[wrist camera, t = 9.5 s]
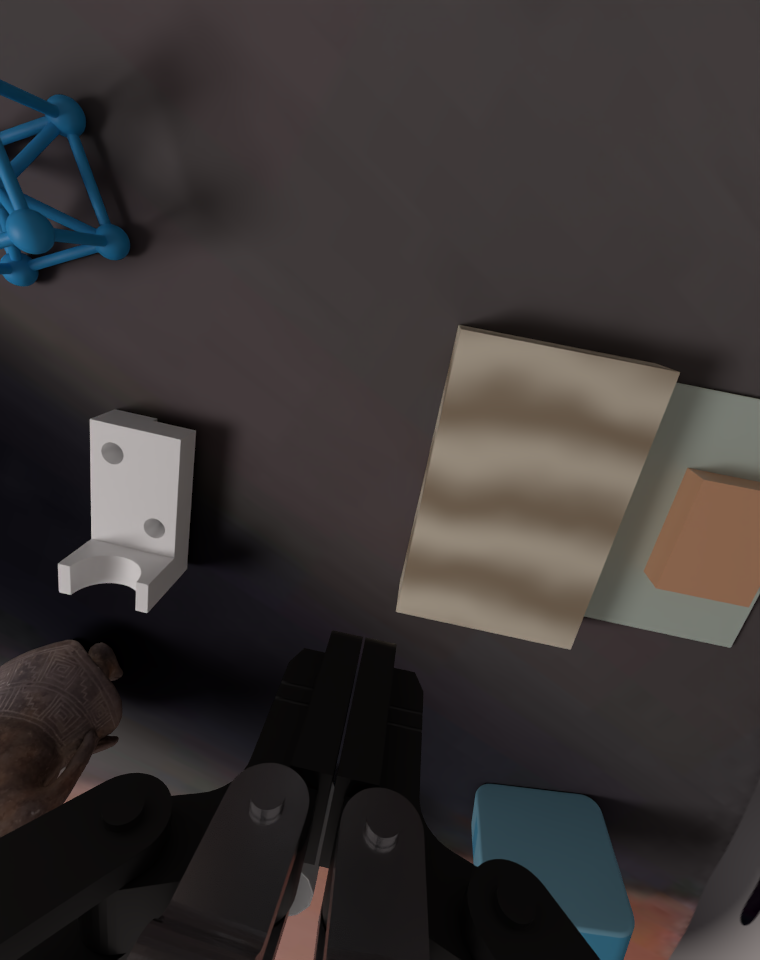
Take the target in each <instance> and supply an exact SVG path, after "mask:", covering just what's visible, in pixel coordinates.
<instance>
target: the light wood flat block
mask: <svg viewBox="0 0 760 960" xmlns="http://www.w3.org/2000/svg"><path fill="white" fill-rule="evenodd" d="M679 375H680V372H678V371H675V370H673V369H670V368H667V367H664V366H662V365H659V364H656V363H652V362H646V361H641V360H636V359H631V358H626V357H621V356H616V355H611V354H606V353H601V352H596V351H590V350H585V349H580V348H575V347H570V346H565V345H560V344H555V343H550V342H545V341H540V340H534V339H529V338H524V337H519V336H514V335H509V334H504V333H499V332H494V331H489V330H484V329H478V328H473V327H468V326H463V325H459V326H458V330H457V335H456V339H455V343H454V348H453V352H452V357H451V361H450V365H449V370H448V374H447V379H446V383H445V387H444V392H443V396H442V400H441V405H440V409H439V414H438V418H437V422H436V427H435V431H434V436H433V440H432V444H431V449H430V453H429V458H428V462H427V466H426V471H425V475H424V479H423V484H422V488H421V493H420V497H419V501H418V506H417V510H416V515H415V519H414V523H413V528H412V532H411V537H410V541H409V545H408V550H407V554H406V558H405V563H404V567H403V572H402V576H401V580H400V585H399V593H398V600H397V608H396V612H399V613H404V614H409V615H413V616H418V617H422V618H427V619H432V620H436V621H441V622H445V623H450V624H455V625H459V626H464V627H468V628H473V629H478V630H482V631H487V632H491V633H496V634H501V635H505V636H510V637H514V638H519V639H524V640H528V641H533V642H538V643H542V644H547V645H551V646H556V647H561V648H565V649H570V650H571V647H572V645H573V642H574V640H575V637H576V635H577V632H578V630H579V627H580V625H581V622H582V620H583V617H584V615H585V612H586V610H587V607H588V604H589V602H590V599H591V597H592V594H593V592H594V589H595V587H596V584H597V582H598V579H599V577H600V574H601V572H602V569H603V567H604V564H605V562H606V559H607V556H608V554H609V551H610V549H611V546H612V544H613V541H614V539H615V536H616V534H617V531H618V529H619V526H620V524H621V521H622V519H623V516H624V514H625V511H626V508H627V506H628V503H629V501H630V498H631V496H632V493H633V491H634V488H635V486H636V483H637V481H638V478H639V476H640V473H641V471H642V468H643V466H644V463H645V460H646V458H647V455H648V453H649V450H650V448H651V445H652V443H653V440H654V438H655V435H656V433H657V430H658V428H659V425H660V423H661V420H662V418H663V415H664V412H665V410H666V407H667V405H668V402H669V400H670V397H671V395H672V392H673V390H674V387H675V385H676V382H677V380H678V377H679Z"/></svg>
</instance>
